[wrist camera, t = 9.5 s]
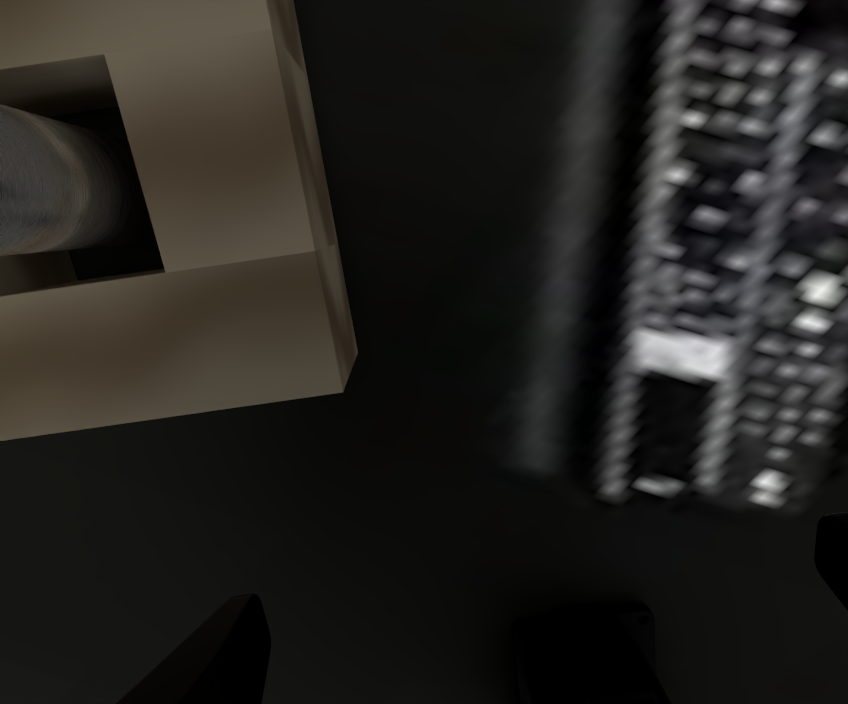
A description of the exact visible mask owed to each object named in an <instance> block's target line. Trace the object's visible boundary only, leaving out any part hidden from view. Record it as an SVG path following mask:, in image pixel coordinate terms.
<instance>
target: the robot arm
mask: <svg viewBox="0 0 848 704" xmlns="http://www.w3.org/2000/svg"><path fill="white" fill-rule="evenodd" d="M814 560H815V565H816V567H817V570H818V572H819V574H820V575H821V577H822V578H823V579H824V581H825V582H826V583H827V585H828V586H829V587H830V588H831V590H832V591H833V592H834V594H835V595H836V596H837V597H838V599H839V600H840V601H841V603H842V604H843V605H844V606H845V608H846V609H847V610H848V512H842V513H835V514H828V515H824V516H822V517H821V518H820V519H819V521H818V524H817V533H816V544H815V555H814ZM641 616H643V617H641ZM640 617H641V618H640ZM522 632H526V633H524V634H520V633H522ZM512 639H513V647H514V656H515V665H516V674H517V683H518V692H519V701H520V704H671V703H670V701H669V699H668V697H667V695H666V693H665V692H664V690H663V688H662V686H661V684H660V682H659V680H658V679H657V677H656V675H655V623H654V615H653V614H652V612H651V610H650V609H649V608H648V607H647V606H646V605H632V606H625V607H618V608H611V609H603V610H596V611H589V612H581V613H574V614H567V615H559V616H552V617H545V618H538V619H530V620H523V621H519V622H517V623H515V624H514V625H513V627H512ZM270 650H271V636H270V631H269V628H268V624H267V621H266V617H265V613H264V610H263V606H262V603H261V600H260V598H259V596H258V595H256V594H247V595H240V596H234V597H231V598H230V599H228V600H227V601H226V602H225V603H224V604H223V605H222V606H221V607H220V608H219V609H217V610H216V611H215V612H214V613H213V614H212V615H211V616H210V617H209V618H208V619H207V620H206V621H205V622H203V623H202V624H201V625H200V626H199V627H198V628H197V629H196V630H195V631H194V632H193V633H192V634H190V635H189V636H188V637H187V638H186V639H185V640H184V641H183V642H182V643H181V644H180V645H179V646H178V647H176V648H175V649H174V650H173V651H172V652H171V653H170V654H169V655H168V656H167V657H166V658H165V659H164V660H162V661H161V662H160V663H159V664H158V665H157V666H156V667H155V668H154V669H153V670H152V671H151V672H150V673H148V674H147V675H146V676H145V677H144V678H143V679H142V680H141V681H140V682H139V683H138V684H137V685H135V686H134V687H133V688H132V689H131V690H130V691H129V692H128V693H127V694H126V695H125V696H124V697H123V698H121V699H120V700H119V701H118V702H117V703H116V704H261V703H262V697H263V692H264V686H265V680H266V674H267V668H268V662H269V656H270Z"/></svg>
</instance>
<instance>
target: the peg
mask: <svg viewBox="0 0 848 704" xmlns="http://www.w3.org/2000/svg"><path fill="white" fill-rule="evenodd" d="M153 240H156V237H155V233H154V229H153V226H152V222H151V219H150V215H149V212H148V208H147V205H146V201H145V197H144V194H143V190H142V187H141V183H140V180H139V176H138V172H137V169H136V165H135V162H134V158H133V155H132V151H131V148H130V144H129V140H125V139H122V138H118V137H115V136H111V135H108V134H104V133H100V132H97V131H93V130H90V129H86V128H83V127H79V126H76V125H72V124H68V123H65V122H61V121H58V120H54V119H51V118H47V117H44V116H40V115H36V114H33V113H29V112H26V111H22V110H19V109H15V108H12V107H8V106H4V105H1V104H0V256H3V255H14V254H26V253H37V252H49V251H60V250H71V249H83V248H94V247H106V246H117V245H129V244H140V243H147V242H151V241H153Z"/></svg>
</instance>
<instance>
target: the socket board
mask: <svg viewBox="0 0 848 704" xmlns="http://www.w3.org/2000/svg"><path fill="white" fill-rule="evenodd" d="M0 104H1V105H4V106H8V107H12V108H15V109H19V110H22V111H26V112H29V113H33V114H36V115H40V116H44V117H52V116H58V115H65V114H72V113H79V112H85V111H92V110H99V109H106V108H112V107H119V108H120V112H121V116H122V119H123V123H124V126H125V130H126V133H127V137H128V140H129V144H130V148H131V151H132V155H133V158H134V162H135V165H136V169H137V172H138V176H139V180H140V183H141V187H142V190H143V194H144V197H145V201H146V205H147V208H148V212H149V215H150V219H151V222H152V226H153V229H154V233H155V237H156V240H157V244H158V247H159V251H160V254H161V258H162V261H163V265H164V268H162V269H155V270H148V271H141V272H134V273H127V274H120V275H113V276H106V277H99V278H93V279H86V280H79V281H78V278H77V275H76V272H75V269H74V266H73V263H72V260H71V257H70V254H69V251H68V250H60V251H49V252H37V253H26V254H14V255H3V256H0V441H3V440H10V439H17V438H24V437H31V436H38V435H46V434H53V433H60V432H67V431H74V430H81V429H88V428H95V427H102V426H109V425H116V424H123V423H130V422H137V421H144V420H151V419H158V418H165V417H172V416H179V415H187V414H194V413H201V412H208V411H215V410H222V409H229V408H236V407H243V406H250V405H257V404H264V403H271V402H278V401H285V400H292V399H299V398H306V397H313V396H320V395H327V394H335V393H342V392H343V391H344V388H345V385H346V383H347V380H348V377H349V375H350V372H351V370H352V367H353V364H354V362H355V359H356V356H357V354H358V350H357V345H356V339H355V334H354V328H353V323H352V318H351V312H350V307H349V301H348V296H347V290H346V285H345V279H344V274H343V268H342V263H341V258H340V252H339V247H338V241H337V236H336V230H335V225H334V219H333V214H332V208H331V203H330V197H329V192H328V187H327V181H326V176H325V170H324V165H323V159H322V154H321V148H320V143H319V137H318V132H317V127H316V121H315V116H314V110H313V105H312V99H311V94H310V88H309V83H308V77H307V72H306V67H305V61H304V56H303V50H302V45H301V39H300V34H299V28H298V23H297V17H296V12H295V6H294V1H293V0H0Z"/></svg>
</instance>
